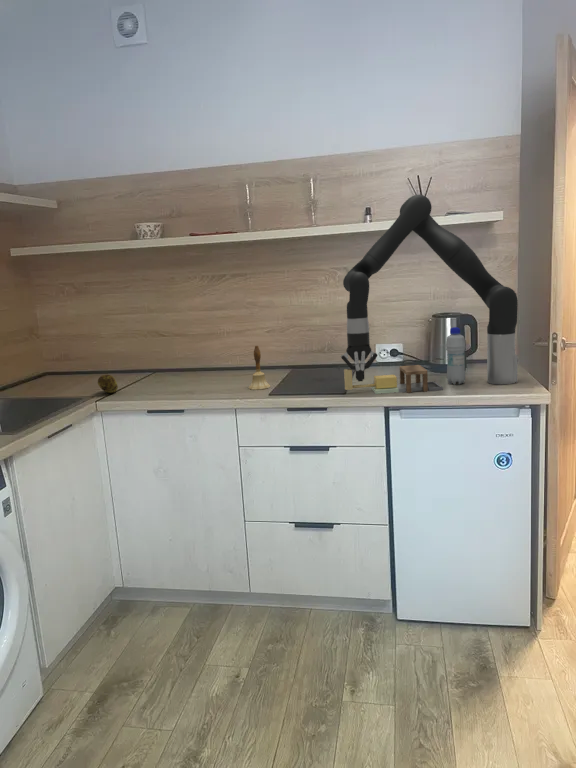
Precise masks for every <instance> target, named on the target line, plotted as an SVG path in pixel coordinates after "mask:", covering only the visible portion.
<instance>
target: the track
mask: <svg viewBox="0 0 576 768" xmlns="http://www.w3.org/2000/svg"><path fill="white" fill-rule="evenodd" d="M371 390H372V391H373V392H374V394H375V395H380V394H381V393H382V394H392V393H394V392H396V393H407V392H406V383H405V384H400V383H397V387H393V388H378V389H377V388H376V387H371ZM421 391H422V392H423V383H416V382H411V392H421Z"/></svg>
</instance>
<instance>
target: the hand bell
mask: <svg viewBox="0 0 576 768" xmlns="http://www.w3.org/2000/svg"><path fill="white" fill-rule="evenodd" d="M253 358H254V359H253V360H254V361H255V372H254V373H252V380H251V383H250V385H249V386H248V390H254V391H255V390H257V391H258V390H261V391H262V390H265V389H266V390H267V389H269V388H271V385H270V384H269V383H268V382H267V379H266V376H265V375H266V374H265V373H264V372H263V371H261V363H260V362H261V349H260V347H259V345H254V350H253Z"/></svg>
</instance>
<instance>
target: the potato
mask: <svg viewBox="0 0 576 768" xmlns="http://www.w3.org/2000/svg"><path fill="white" fill-rule="evenodd" d="M97 384H98V386H99V388H100V389H101V390H102V391H104V392H105V393H108V394H114V393H116V392H117V391H118V387H119V385H118V383H117V381H116V379H115V377H114V376H113V375H111V374H102V375H101V376H98V379H97Z"/></svg>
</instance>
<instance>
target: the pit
mask: <svg viewBox="0 0 576 768" xmlns="http://www.w3.org/2000/svg"><path fill="white" fill-rule="evenodd" d="M420 382H421V381H420ZM421 383H423V381H422V382H421ZM443 389H444V387H443V386H442V385H440V384H439V383H437V381H428V392H434V391H443Z"/></svg>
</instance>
